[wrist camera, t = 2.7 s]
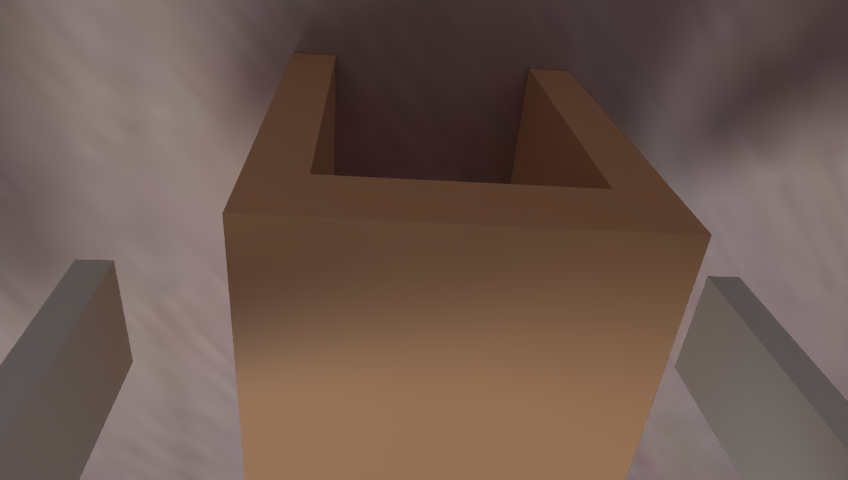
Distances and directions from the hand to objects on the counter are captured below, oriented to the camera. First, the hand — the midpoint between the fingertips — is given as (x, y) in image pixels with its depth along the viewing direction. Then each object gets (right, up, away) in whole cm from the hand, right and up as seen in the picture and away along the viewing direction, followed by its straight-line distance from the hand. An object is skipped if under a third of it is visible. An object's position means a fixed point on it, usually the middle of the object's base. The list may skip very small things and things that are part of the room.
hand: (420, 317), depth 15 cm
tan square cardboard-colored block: (0, +3, +6) cm, 7 cm away
